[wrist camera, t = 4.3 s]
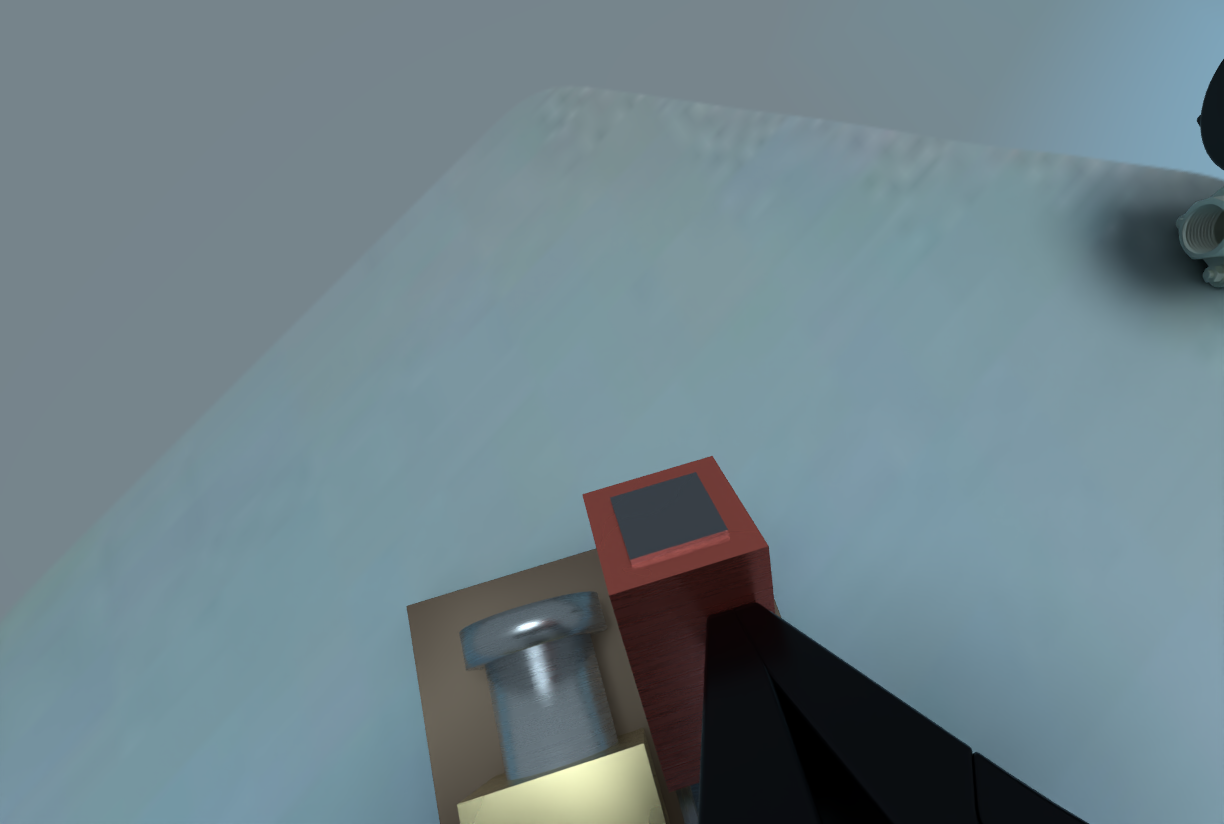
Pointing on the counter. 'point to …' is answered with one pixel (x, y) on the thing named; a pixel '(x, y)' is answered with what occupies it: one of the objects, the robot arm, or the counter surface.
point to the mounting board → (463, 697)
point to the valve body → (556, 723)
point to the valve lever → (676, 594)
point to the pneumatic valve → (1219, 222)
